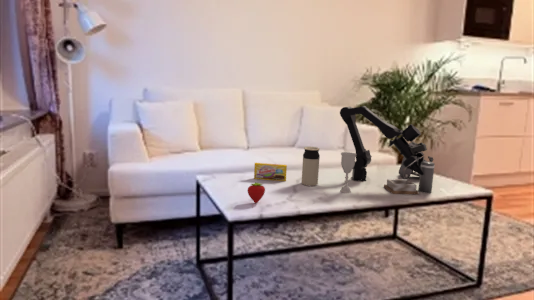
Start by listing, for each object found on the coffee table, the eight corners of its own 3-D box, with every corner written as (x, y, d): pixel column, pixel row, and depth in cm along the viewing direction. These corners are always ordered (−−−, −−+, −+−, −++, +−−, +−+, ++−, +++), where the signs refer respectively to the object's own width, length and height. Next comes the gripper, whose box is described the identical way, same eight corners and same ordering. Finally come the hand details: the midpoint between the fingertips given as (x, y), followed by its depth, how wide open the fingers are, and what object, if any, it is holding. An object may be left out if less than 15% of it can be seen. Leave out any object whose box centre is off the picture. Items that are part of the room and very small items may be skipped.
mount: (392, 193, 200) (393, 185, 199) (383, 186, 212) (384, 178, 211) (418, 194, 201) (419, 185, 200) (408, 187, 213) (409, 179, 212)
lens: (421, 192, 204) (424, 163, 202) (415, 189, 210) (418, 161, 208) (433, 193, 205) (437, 164, 202) (428, 189, 211) (431, 161, 208)
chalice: (354, 190, 202) (357, 153, 199) (352, 194, 196) (355, 155, 193) (339, 188, 205) (341, 151, 202) (336, 192, 198) (339, 153, 195)
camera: (430, 187, 230) (444, 152, 227) (400, 177, 231) (413, 142, 227) (424, 182, 241) (437, 149, 238) (395, 173, 242) (408, 139, 238)
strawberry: (244, 201, 177) (245, 178, 176) (260, 200, 181) (261, 177, 179) (250, 205, 172) (251, 181, 170) (267, 204, 176) (268, 180, 174)
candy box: (253, 179, 216) (254, 163, 215) (254, 178, 218) (254, 162, 217) (285, 181, 215) (286, 165, 213) (286, 180, 217) (286, 164, 215)
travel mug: (320, 185, 208) (322, 149, 205) (304, 186, 206) (307, 149, 203) (313, 181, 216) (316, 146, 213) (299, 182, 214) (301, 146, 211)
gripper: (412, 139, 198) (434, 166, 195) (421, 135, 214) (442, 160, 210) (393, 154, 204) (415, 180, 200) (404, 149, 220) (424, 173, 216)
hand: (425, 173), depth 206 cm, fingers open, 9 cm apart
